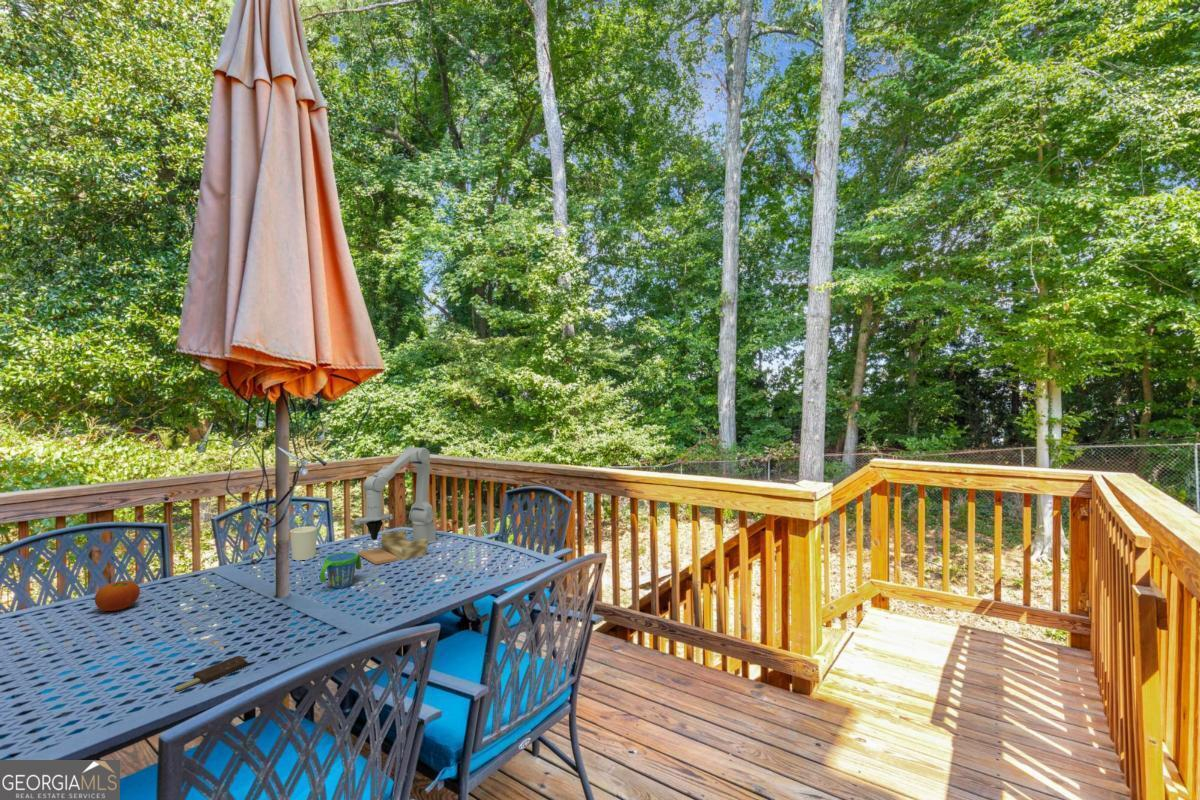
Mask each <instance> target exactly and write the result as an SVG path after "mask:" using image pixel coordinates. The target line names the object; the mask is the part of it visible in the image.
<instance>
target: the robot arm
mask: <svg viewBox="0 0 1200 800" xmlns="http://www.w3.org/2000/svg"><path fill="white" fill-rule="evenodd" d="M430 455H431V452H430V451H429V450H428V449H427V448H426V447H417V446H415V447H412V446H408V447H406V448H404V449H403V450H402V453H401V454H400V455H399V456H398V457H397V458H396V459H395V460H394V461H393V462H392V463H391V464H390V465H389V464H387V465H382V467H381V468H380V469H379V470H378V471H377V472H374V474H373V475H372V476H368V477H367V478H366V479H365V480H364V483H363V484H362V487H363V489H364V490H365V495H366V516H364V517H360V518H355V519H354V524H355V525H356V526H359V525H362V524H364V525H366V526H367V529H368V531H369V535H370V537H371V538H370V539H371V540H372V541H376V540H378V537H379V532H380V530H381V528H382V526H383V524H384V522H383V521H386V520H387V521H388V520H393V519H394V517H393V514H392V513H387V514H382V513H383V505H382V504H383V499H382V498H383V497H382V496H383V490H384V489H385V487H386V485H387V483H388V482H389V481H390V480H391V479H393V478H394V477H395V476H396V474H397V473H396V472H397V471H398V470H400V469H401V468H402V467H404V466H405V465H406V464H408V463H411V464H413V465H414V466H415V467H416V483H415V484H416V485H415V502H414V503H413V504H412V505H411V506H410V510H409V514H408V518H409V521H411V524H412V540H410V541H411V542H412V541H416V540H421V539H428V545H429V544H434V543H437V538H436V534H437V531H436V529H437V528H436V527H437V526H436V524H435V522H434V521H433V520H434V516H435V513H434V510H433V505H432V504H430V502H429V491H430V490H429V489H430V470H431V462H430V458H431V457H430Z"/></svg>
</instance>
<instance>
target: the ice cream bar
mask: <svg viewBox="0 0 1200 800" xmlns="http://www.w3.org/2000/svg"><path fill="white" fill-rule="evenodd" d="M248 664H249V662H248V661H247V660H246V657H244V656H242V655H236V656H233V657H231V658H228V659H226V660H224V661H223V660H222V661H221V662H219V663H216V664H213V665H211V666H209V667H206V668H204V669H201V670H198V671H195V672H194V673H193V674H192V675H193V679H190V680H189V681H186V682H183V683H181V684H179V685H176V686H175V687H174V691H176V692H179V691H182V690H185V689H186V688H189V687H191V686H194V685H196V684H199V683H201V684H203V685H207V684H210V683H213V682H214V681H217V680H219V679H221V678H220V677H222V678H223V676H224V677H226V676H228V675H227V674H229V673H231V674H233V673H235V671H236V672H238V671H240V670H243V669H244V667H245V668H247V667H248V666H249V665H248ZM246 666H247V667H246ZM242 668H243V669H242ZM239 669H240V670H239ZM237 670H238V671H237ZM232 672H233V673H232ZM225 675H226V676H225ZM229 675H230V674H229Z"/></svg>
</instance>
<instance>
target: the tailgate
mask: <svg viewBox="0 0 1200 800" xmlns="http://www.w3.org/2000/svg"><path fill="white" fill-rule="evenodd" d="M357 555H359V556H360V557H362V558H364V559H365V560H368V561H369V562H370V563H372V564H374V565H379V564H386V563H390V562H391V563H392V562H397V561H399V558H398V557H396V556H394V555H392V554H390V553H388V552H386V551H384V550H382V548H380V547H379V548H372V549H364V550H359V551H357Z"/></svg>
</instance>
